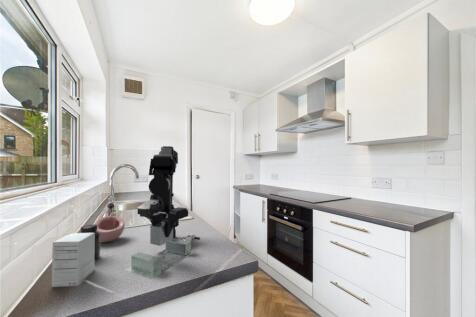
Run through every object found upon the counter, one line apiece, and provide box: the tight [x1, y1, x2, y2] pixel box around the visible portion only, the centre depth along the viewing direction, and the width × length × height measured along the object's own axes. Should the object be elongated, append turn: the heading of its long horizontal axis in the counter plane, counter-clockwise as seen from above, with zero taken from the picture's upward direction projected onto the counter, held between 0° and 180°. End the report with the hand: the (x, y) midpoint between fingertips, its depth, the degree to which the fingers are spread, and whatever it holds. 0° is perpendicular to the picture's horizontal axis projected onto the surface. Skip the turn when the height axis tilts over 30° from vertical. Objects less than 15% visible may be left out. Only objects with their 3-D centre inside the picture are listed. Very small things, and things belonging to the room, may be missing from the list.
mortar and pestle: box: [93, 215, 126, 243], centre depth 89 cm, size 12×12×12 cm
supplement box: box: [51, 232, 95, 288], centre depth 60 cm, size 7×7×13 cm
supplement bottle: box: [79, 223, 101, 262], centre depth 72 cm, size 7×7×12 cm
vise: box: [124, 249, 195, 280], centre depth 70 cm, size 12×20×5 cm, turn 154°
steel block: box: [149, 221, 173, 247], centre depth 69 cm, size 4×6×6 cm
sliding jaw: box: [164, 234, 201, 255], centre depth 80 cm, size 10×12×4 cm
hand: (162, 235), depth 69 cm, fingers closed on steel block, 4 cm apart
